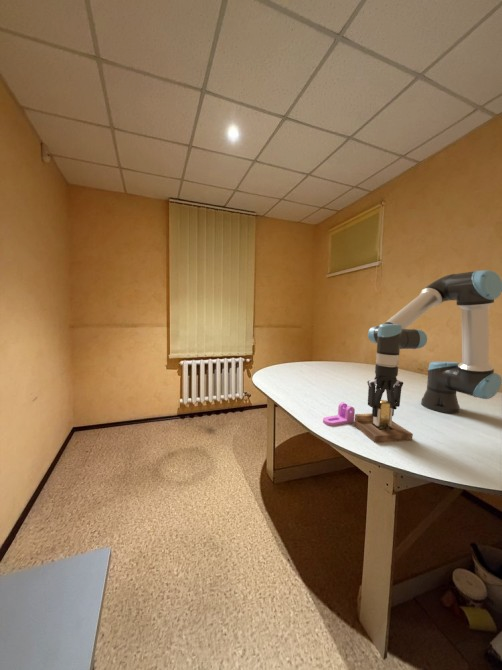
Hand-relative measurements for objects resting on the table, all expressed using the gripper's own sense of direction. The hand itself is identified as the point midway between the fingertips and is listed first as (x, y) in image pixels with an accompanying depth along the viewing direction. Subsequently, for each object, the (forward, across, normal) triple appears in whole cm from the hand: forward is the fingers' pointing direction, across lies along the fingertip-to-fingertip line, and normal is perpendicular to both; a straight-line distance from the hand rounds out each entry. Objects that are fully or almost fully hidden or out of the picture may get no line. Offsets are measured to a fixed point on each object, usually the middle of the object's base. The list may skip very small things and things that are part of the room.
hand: (382, 424), depth 95 cm
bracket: (+4, +12, -11) cm, 17 cm away
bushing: (+1, 0, 0) cm, 1 cm away
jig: (+3, 0, 0) cm, 3 cm away
